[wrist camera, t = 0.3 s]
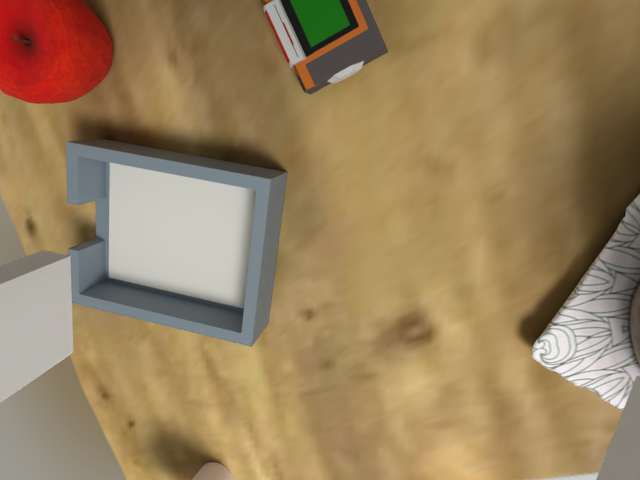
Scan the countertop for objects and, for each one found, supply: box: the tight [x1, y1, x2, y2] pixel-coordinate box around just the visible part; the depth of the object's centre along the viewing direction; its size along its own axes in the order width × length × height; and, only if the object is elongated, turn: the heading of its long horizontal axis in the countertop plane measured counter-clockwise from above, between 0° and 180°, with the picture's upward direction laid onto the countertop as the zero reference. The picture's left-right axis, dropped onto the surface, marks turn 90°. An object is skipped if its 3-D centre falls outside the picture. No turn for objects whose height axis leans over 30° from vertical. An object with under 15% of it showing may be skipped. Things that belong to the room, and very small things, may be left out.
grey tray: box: [66, 139, 287, 347], centre depth 39 cm, size 14×17×4 cm
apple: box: [0, 0, 113, 103], centre depth 35 cm, size 9×9×8 cm
